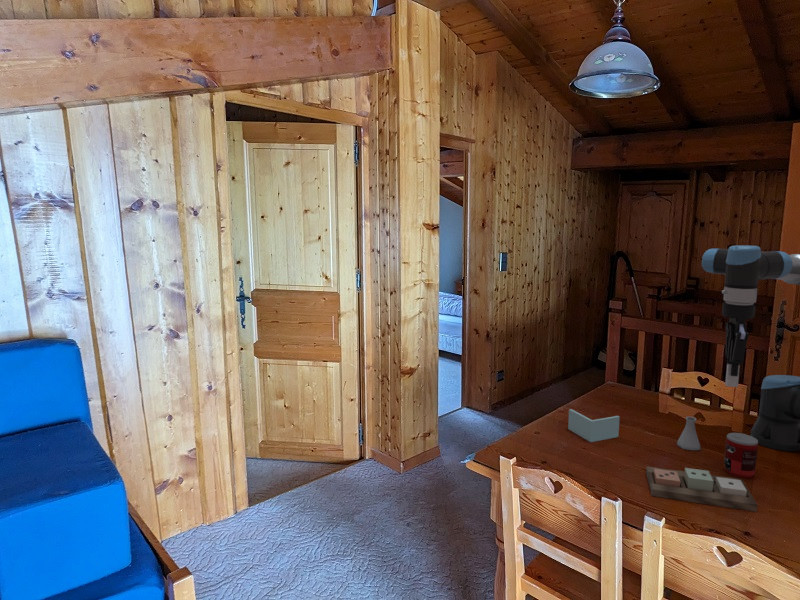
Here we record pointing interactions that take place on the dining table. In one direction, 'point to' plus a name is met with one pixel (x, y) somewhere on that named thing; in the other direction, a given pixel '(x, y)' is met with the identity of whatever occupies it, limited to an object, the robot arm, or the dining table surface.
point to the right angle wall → (593, 426)
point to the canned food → (740, 455)
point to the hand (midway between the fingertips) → (731, 385)
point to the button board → (700, 493)
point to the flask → (689, 436)
